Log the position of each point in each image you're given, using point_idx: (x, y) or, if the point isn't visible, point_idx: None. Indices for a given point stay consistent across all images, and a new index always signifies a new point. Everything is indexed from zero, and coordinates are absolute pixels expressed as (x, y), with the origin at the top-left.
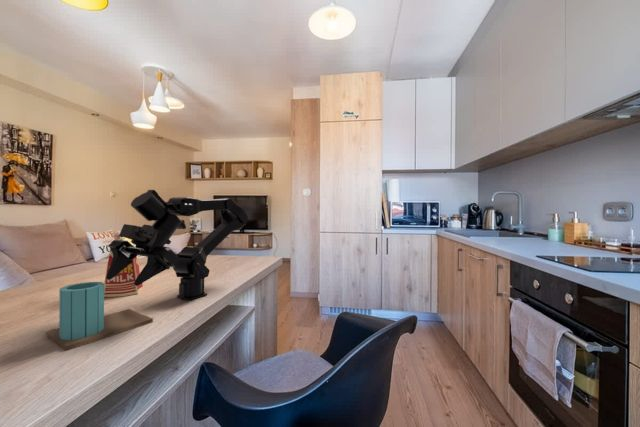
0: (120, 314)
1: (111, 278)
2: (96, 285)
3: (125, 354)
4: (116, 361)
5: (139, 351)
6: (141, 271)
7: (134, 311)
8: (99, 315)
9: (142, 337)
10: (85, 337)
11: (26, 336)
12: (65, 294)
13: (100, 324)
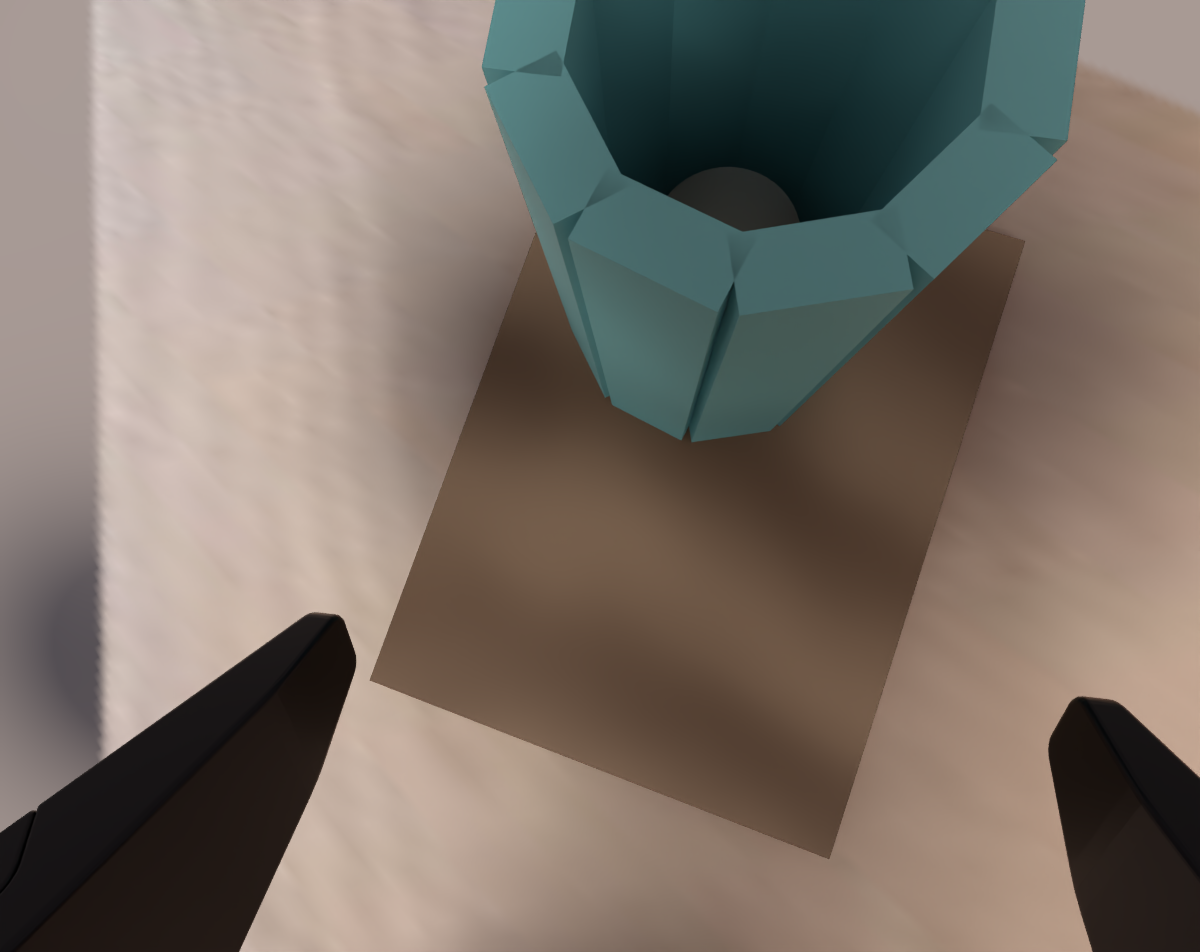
0: (769, 699)
1: (1054, 786)
2: (583, 117)
3: (162, 193)
4: (148, 120)
5: (105, 244)
6: (140, 806)
7: (703, 803)
8: (558, 289)
9: (239, 409)
10: None
11: (1135, 200)
12: None
13: (576, 335)
